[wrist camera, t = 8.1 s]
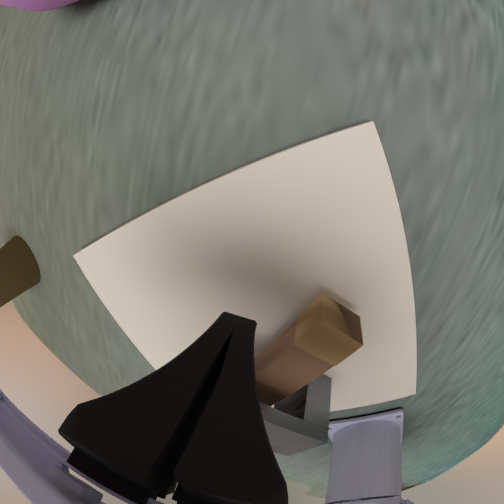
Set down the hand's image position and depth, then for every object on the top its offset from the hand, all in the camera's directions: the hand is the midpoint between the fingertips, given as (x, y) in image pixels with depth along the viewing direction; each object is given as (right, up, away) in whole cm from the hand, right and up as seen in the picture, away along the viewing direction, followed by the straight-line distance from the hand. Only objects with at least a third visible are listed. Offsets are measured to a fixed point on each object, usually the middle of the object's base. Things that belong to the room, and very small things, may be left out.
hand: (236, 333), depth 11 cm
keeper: (+1, -7, +9) cm, 11 cm away
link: (+1, -5, +6) cm, 8 cm away
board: (+1, -2, +7) cm, 8 cm away
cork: (-24, +2, +11) cm, 27 cm away
